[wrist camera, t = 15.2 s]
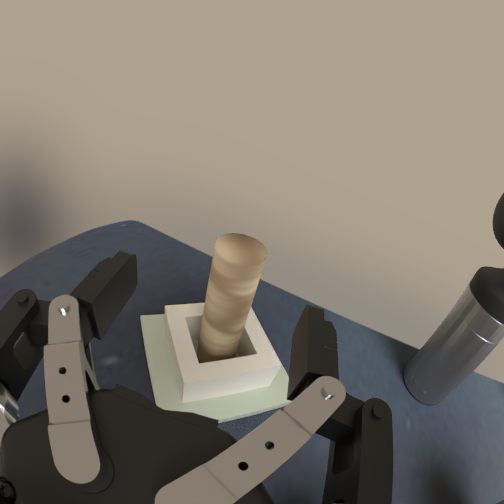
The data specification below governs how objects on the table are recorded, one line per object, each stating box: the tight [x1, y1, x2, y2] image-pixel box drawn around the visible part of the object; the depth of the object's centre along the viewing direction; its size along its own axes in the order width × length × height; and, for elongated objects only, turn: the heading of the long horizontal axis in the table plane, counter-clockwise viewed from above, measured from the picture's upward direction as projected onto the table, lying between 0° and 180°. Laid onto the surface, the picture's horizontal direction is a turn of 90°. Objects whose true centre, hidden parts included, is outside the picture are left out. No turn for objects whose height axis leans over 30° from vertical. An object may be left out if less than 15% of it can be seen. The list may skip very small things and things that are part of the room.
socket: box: [140, 303, 292, 423], centre depth 31 cm, size 16×16×6 cm
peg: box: [196, 233, 267, 363], centre depth 28 cm, size 4×4×16 cm
